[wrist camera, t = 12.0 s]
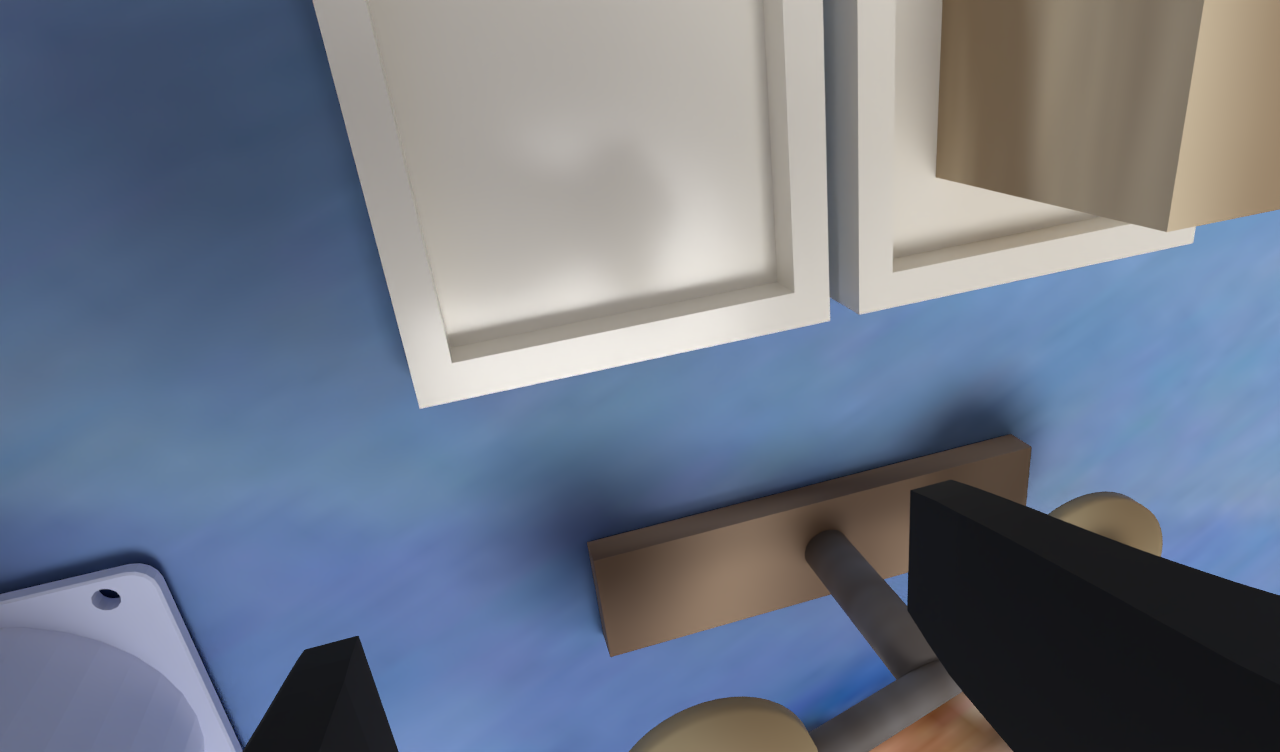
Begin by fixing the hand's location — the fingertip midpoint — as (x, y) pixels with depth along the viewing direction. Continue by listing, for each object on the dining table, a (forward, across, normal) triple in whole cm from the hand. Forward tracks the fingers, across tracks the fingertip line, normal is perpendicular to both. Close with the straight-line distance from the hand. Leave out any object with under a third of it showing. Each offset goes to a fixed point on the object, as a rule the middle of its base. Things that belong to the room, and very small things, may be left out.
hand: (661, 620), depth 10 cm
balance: (+8, -6, +6) cm, 12 cm away
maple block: (+8, -11, -5) cm, 14 cm away
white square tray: (+8, -2, -5) cm, 10 cm away
